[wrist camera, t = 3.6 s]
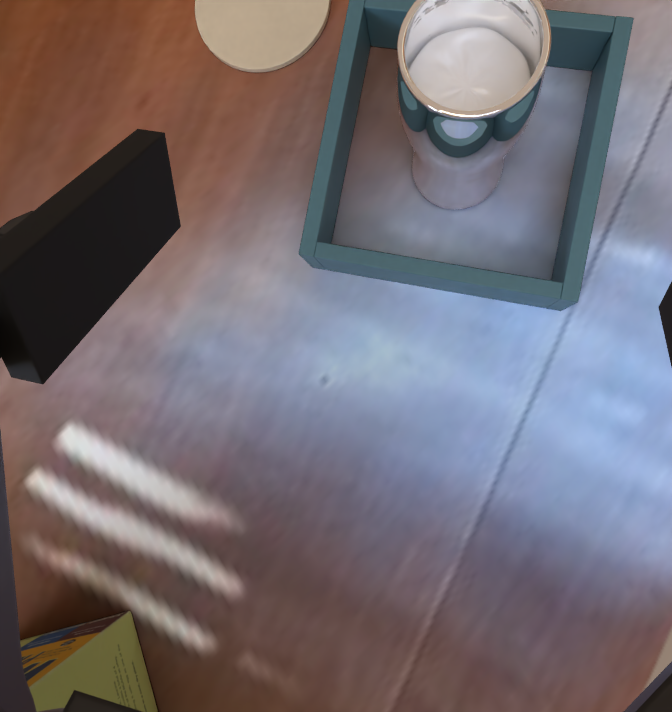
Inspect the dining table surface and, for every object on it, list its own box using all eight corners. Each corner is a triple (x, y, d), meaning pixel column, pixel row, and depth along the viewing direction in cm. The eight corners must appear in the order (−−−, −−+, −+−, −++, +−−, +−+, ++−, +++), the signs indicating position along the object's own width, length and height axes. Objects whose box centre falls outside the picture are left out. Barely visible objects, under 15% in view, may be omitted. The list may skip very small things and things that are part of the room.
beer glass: (511, 114, 40) (559, -41, 25) (507, 217, 40) (553, 120, 25) (407, 116, 41) (395, -31, 26) (403, 216, 41) (388, 123, 26)
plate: (186, -40, 44) (183, -44, 44) (316, -81, 43) (315, -86, 42) (210, 88, 44) (207, 85, 43) (343, 51, 42) (342, 47, 42)
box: (312, 267, 42) (298, 254, 37) (359, 31, 42) (351, -10, 38) (561, 311, 39) (578, 302, 35) (610, 58, 39) (634, 17, 35)
